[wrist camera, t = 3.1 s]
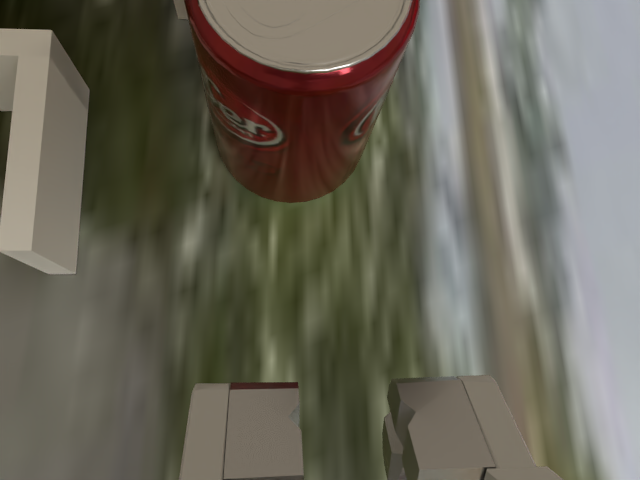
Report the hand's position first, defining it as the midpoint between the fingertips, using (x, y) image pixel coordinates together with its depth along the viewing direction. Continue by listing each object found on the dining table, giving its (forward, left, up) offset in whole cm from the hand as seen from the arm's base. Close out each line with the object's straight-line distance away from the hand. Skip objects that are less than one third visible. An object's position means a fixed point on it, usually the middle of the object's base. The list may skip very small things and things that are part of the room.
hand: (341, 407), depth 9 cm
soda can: (+9, +9, -18) cm, 21 cm away
